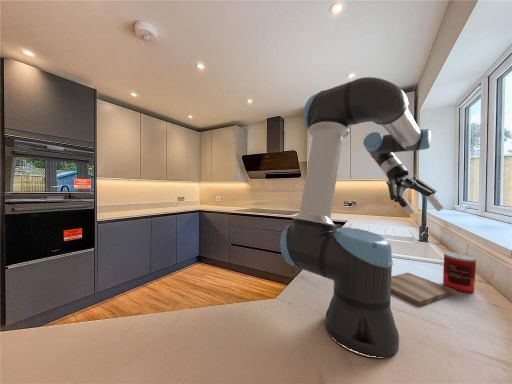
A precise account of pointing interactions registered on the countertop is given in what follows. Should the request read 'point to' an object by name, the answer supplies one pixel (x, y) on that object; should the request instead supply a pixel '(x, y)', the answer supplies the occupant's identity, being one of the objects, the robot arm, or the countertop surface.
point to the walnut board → (418, 289)
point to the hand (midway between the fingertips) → (426, 211)
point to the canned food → (459, 272)
